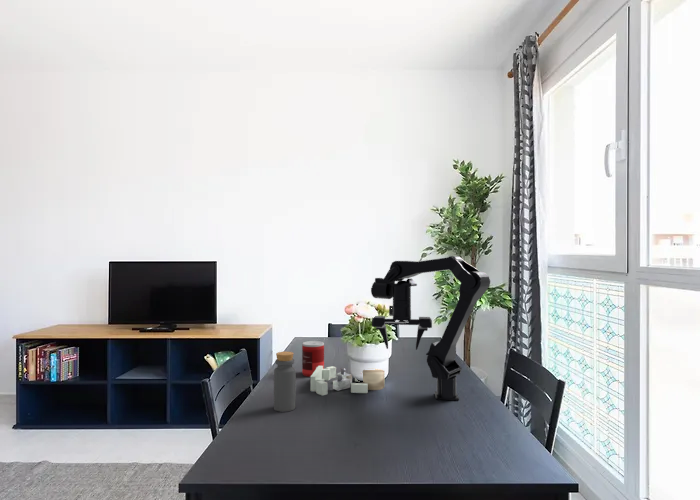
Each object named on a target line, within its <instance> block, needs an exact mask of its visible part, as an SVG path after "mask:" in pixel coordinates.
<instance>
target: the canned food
mask: <svg viewBox="0 0 700 500" xmlns="http://www.w3.org/2000/svg"><path fill="white" fill-rule="evenodd" d="M301 357H302V359H301V370H302V371H301V373H302V376H304V377H308V378H311V375H312V374H313V373H314V371H315V370H316V368H317V367H318V366H323V369H325V342H323V341H320V340H310V341H309V340H308V341H304V342H302V346H301Z"/></svg>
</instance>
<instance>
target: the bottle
mask: <svg viewBox="0 0 700 500" xmlns="http://www.w3.org/2000/svg"><path fill="white" fill-rule="evenodd" d="M294 354H295V353H294V352H293V351H279V352H278V351H277V352H276V359H275V360H274V362H275V365H276V367H274V369H273V410H274V411H275V412H281V413H285V412H292V411H293V410H295V409H296V392H297V391H296V390H297V389H296V387H297V386H296V376H297V375H296V371H297V370H296V368H295V367H294V366H293V365H294V364H295V359H294Z"/></svg>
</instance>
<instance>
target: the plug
mask: <svg viewBox="0 0 700 500" xmlns="http://www.w3.org/2000/svg"><path fill="white" fill-rule="evenodd" d="M374 369H375V370H365V369H363V370H362V373H363V382H362V383H365V384H368V391H380V390H384V389H385V385H386V384H385V383H386V381H385V374H386V373H385V370H383V369H381V368H374ZM383 388H384V389H383Z"/></svg>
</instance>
